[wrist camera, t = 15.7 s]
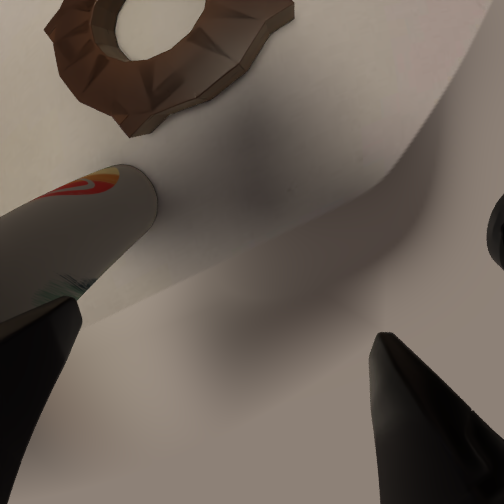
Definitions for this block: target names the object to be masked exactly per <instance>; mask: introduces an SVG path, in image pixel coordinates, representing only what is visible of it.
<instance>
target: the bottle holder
mask: <svg viewBox="0 0 504 504" xmlns="http://www.w3.org/2000/svg"><path fill="white" fill-rule="evenodd" d="M124 1H125V0H64V1H63V3H62V5H61V7H60V9H59V10H58V11H57V13H56V14H55V15H54V17H53V18H52V19H51V20H50V22H49V23H48V24H47V26H46V27H45V28H44V31H45V32H46V34H47V35H48V36H49V38H50V39H51V40H52V42H53V46H54V51H55V57H56V62H57V67H58V71H59V75H60V77H61V79H62V80H63V81H64V83H65V84H66V85H67V87H68V88H69V89H70V90H71V92H72V93H73V94H74V96H75V97H76V98H77V100H78V101H79V102H81V103H83V104H85V105H87V106H90V107H92V108H94V109H96V110H98V111H101V112H103V113H105V114H107V115H109V116H112V117H113V119H114V120H115V121H116V122H117V124H118V125H120V127H121V129H122V130H123V131H124V132H125V134H126V135H127V136H128V137H129V138H132V137H136V136H141V135H145V134H150V133H152V132H153V131H154V130H155V129H156V128H157V127H158V126H159V125H160V124H161V123H162V122H163V121H164V120H165V119H166V118H167V117H168V116H169V115H170V114H173V113H176V112H178V111H181V110H184V109H186V108H189V107H192V106H195V105H198V104H200V103H203V102H206V101H209V100H211V99H213V98H214V97H215V96H217V95H218V94H219V93H220V92H221V91H223V90H224V89H225V88H226V87H228V86H229V85H230V84H231V83H233V82H234V81H235V80H237V79H238V78H239V77H240V76H242V75H243V74H244V73H246V71H248V69H249V68H250V66H251V64H252V63H253V61H254V59H255V58H256V56H257V55H258V53H259V51H260V50H261V48H262V47H263V45H264V43H265V42H266V40H267V39H268V37H269V35H270V34H271V33H273V32H274V31H276V30H277V29H279V28H280V27H282V26H283V25H285V24H286V23H288V22H290V21H291V20H293V19H294V2H293V1H292V0H206V3H205V9H204V11H203V13H202V14H201V16H200V17H199V19H198V21H197V22H196V24H195V25H194V27H193V29H192V30H191V32H190V33H189V34H188V35H187V36H185V37H184V38H183V39H182V40H181V41H180V42H178V43H177V44H176V45H175V46H174V47H173V48H172V49H170V50H168V51H166V52H163V53H161V54H159V55H157V56H154V57H152V58H150V59H148V60H139V61H130V60H129V59H128V58H127V57H126V56H125V55H124V54H123V53H122V52H121V51H120V49H119V48H118V45H117V41H116V37H115V33H114V29H115V24H116V18H117V14H118V12H119V10H120V8H121V6H122V5H123V3H124Z"/></svg>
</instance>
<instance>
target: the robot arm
mask: <svg viewBox="0 0 504 504" xmlns="http://www.w3.org/2000/svg"><path fill="white" fill-rule="evenodd" d="M500 232H501V236H502V240H503V244H504V223H503V224H502V225H501V228H500ZM81 326H82V316H81V313H80V310H79V307H78V304H77V301H76V299H75V298H73V297H70V296H61V297H59V298H57V299H54V300H52V301H49V302H47V303H45V304H42V305H40V306H38V307H35V308H33V309H31V310H28V311H26V312H24V313H22V314H19V315H17V316H15V317H12V318H10V319H8V320H6V321H3V322H1V323H0V504H7V503H8V500H9V497H10V493H11V490H12V487H13V484H14V481H15V478H16V476H17V473H18V470H19V467H20V464H21V461H22V458H23V456H24V453H25V451H26V447H27V446H28V443H29V441H30V438H31V436H32V433H33V431H34V429H35V426H36V424H37V422H38V419H39V417H40V415H41V413H42V411H43V408H44V406H45V404H46V402H47V399H48V397H49V396H50V393H51V391H52V389H53V387H54V384H55V383H56V381H57V379H58V377H59V375H60V373H61V371H62V369H63V367H64V365H65V363H66V361H67V359H68V356H69V354H70V351H71V349H72V346H73V344H74V342H75V339H76V337H77V335H78V332H79V330H80V328H81ZM369 377H370V402H371V415H372V423H373V430H374V438H375V447H376V456H377V465H378V476H379V489H380V504H504V439H502V438H501V437H500V436H499V435H498V434H497V433H496V432H495V431H493V430H492V429H491V428H490V427H489V426H488V425H487V424H486V423H485V422H484V421H483V420H482V419H481V418H480V417H479V416H478V415H477V414H476V413H475V412H474V411H471V408H470V407H469V406H468V405H467V404H466V403H465V402H464V401H463V400H462V399H461V398H460V397H459V396H458V395H457V394H456V393H455V392H454V391H453V390H452V389H451V388H450V387H449V386H448V385H447V384H446V383H445V382H444V381H443V380H442V379H441V378H440V377H439V376H438V375H437V374H436V373H435V372H434V371H432V369H430V368H429V367H428V366H427V365H426V364H425V363H424V362H423V361H422V360H421V359H420V358H419V357H418V356H417V355H416V354H415V353H414V352H413V351H412V350H411V349H409V348H408V347H407V346H406V345H405V344H404V343H403V342H402V341H401V340H400V339H398V337H397V336H396V335H395V334H393V333H391V332H380V333H378V334H377V336H376V338H375V341H374V343H373V346H372V349H371V352H370V355H369Z"/></svg>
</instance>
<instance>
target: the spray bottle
mask: <svg viewBox="0 0 504 504" xmlns="http://www.w3.org/2000/svg"><path fill="white" fill-rule="evenodd" d="M156 214H157V197H156V193H155V190H154V188H153V186H152V184H151V182H150V181H149V179H148V178H147V177H146V176H145V175H144V174H143V173H142V172H141V171H139V170H138V169H136V168H134V167H132V166H128V165H114V166H110V167H107V168H104V169H102V170H99V171H96V172H94V173H91V174H89V175H87V176H84V177H82V178H79V179H77V180H75V181H72V182H70V183H68V184H66V185H63V186H61V187H59V188H57V189H55V190H53V191H50V192H48V193H46V194H44V195H42V196H40V197H38V198H36V199H34V200H32V201H30V202H28V203H26V204H24V205H22V206H20V207H18V208H16V209H14V210H12V211H11V212H9V213H7V214H5V215H3V216H1V217H0V323H1V322H3V321H6V320H8V319H10V318H12V317H15V316H17V315H19V314H22V313H24V312H26V311H28V310H31V309H33V308H35V307H38V306H40V305H42V304H45V303H47V302H49V301H52V300H54V299H57V298H59V297H61V296H70V297H73V298H75V299H76V301H77V300H78V299H79V298H80V297H81V296H82V295H83V294H84V293H85V292H86V291H87V290H88V289H89V288H90V287H91V286H92V285H93V283H94V282H95V281H96V280H97V279H98V278H99V277H100V276H101V275H102V274H103V273H104V272H105V271H106V270H107V269H108V268H109V267H111V266H112V265H113V264H114V263H115V262H116V261H117V260H118V259H119V258H120V257H121V256H122V255H123V254H124V253H125V252H126V251H127V250H128V249H129V248H130V247H131V246H132V245H133V244H134V243H136V242H137V241H138V240H139V239H140V238H141V237H142V236H143V235H144V234H145V233H146V232H147V231H148V229H149V228H150V227H151V225H152V224H153V222H154V220H155V217H156Z"/></svg>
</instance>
